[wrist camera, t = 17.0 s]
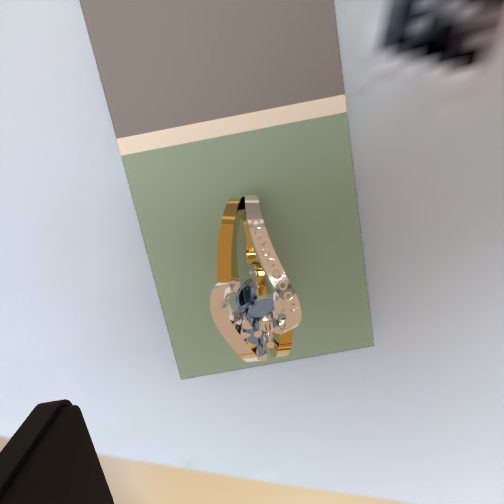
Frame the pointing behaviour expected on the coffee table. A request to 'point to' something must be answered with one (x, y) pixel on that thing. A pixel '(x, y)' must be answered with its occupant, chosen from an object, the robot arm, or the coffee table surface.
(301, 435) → the coffee table surface
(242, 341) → the ring
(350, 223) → the board
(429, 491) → the coffee table surface
